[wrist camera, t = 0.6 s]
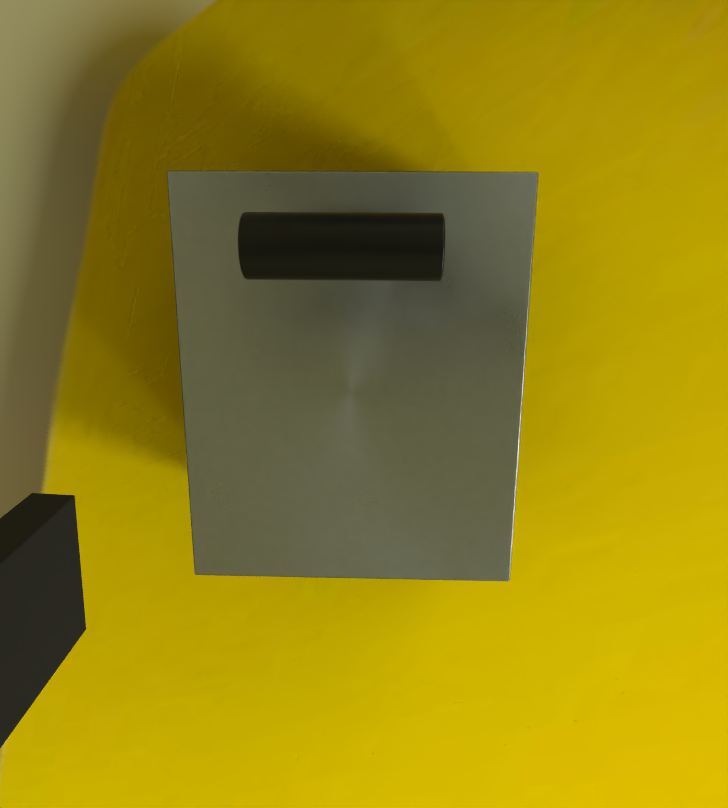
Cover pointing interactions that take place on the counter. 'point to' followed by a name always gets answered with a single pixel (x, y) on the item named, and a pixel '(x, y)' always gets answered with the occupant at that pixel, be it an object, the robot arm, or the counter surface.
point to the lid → (352, 369)
